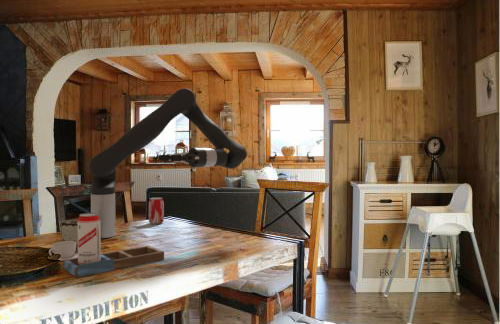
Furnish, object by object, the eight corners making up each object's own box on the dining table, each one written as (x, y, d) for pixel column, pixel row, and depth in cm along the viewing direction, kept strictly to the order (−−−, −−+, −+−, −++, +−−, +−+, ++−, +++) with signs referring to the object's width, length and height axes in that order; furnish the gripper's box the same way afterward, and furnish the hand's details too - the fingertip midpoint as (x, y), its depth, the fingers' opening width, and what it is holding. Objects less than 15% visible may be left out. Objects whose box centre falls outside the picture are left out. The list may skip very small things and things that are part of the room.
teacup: (68, 252, 136) (68, 238, 136) (87, 256, 130) (87, 242, 130) (40, 259, 127) (40, 244, 127) (58, 263, 122) (58, 248, 122)
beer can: (82, 265, 119) (81, 212, 119) (103, 265, 120) (103, 212, 119) (74, 272, 113) (74, 216, 113) (97, 271, 114) (96, 216, 113)
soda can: (160, 224, 185) (159, 199, 185) (146, 224, 186) (145, 198, 186) (166, 222, 192) (166, 197, 192) (152, 221, 193) (152, 197, 193)
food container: (100, 248, 141) (100, 220, 140) (88, 252, 135) (87, 223, 135) (72, 245, 145) (72, 218, 144) (59, 249, 139) (59, 221, 139)
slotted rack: (63, 268, 117) (63, 257, 117) (148, 252, 135) (148, 243, 135) (76, 277, 108) (76, 265, 108) (165, 259, 126) (164, 249, 126)
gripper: (192, 147, 158) (155, 147, 147) (213, 147, 147) (175, 147, 137) (192, 166, 158) (155, 167, 148) (213, 167, 148) (175, 169, 137)
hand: (164, 157), depth 142 cm, fingers open, 8 cm apart
